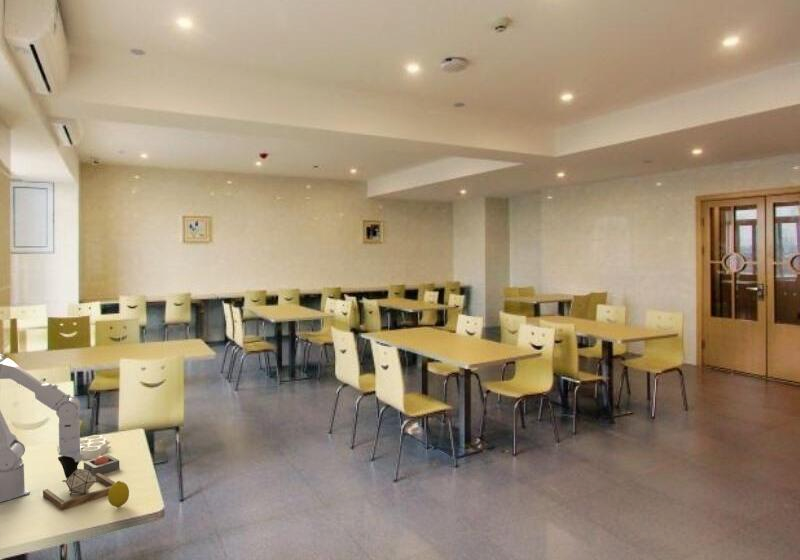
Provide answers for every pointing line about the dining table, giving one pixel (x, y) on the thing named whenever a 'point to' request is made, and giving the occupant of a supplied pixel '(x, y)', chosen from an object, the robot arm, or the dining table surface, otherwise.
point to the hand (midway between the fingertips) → (70, 477)
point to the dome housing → (102, 466)
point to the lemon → (118, 494)
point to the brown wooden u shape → (81, 499)
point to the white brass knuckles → (93, 446)
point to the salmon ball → (101, 460)
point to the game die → (80, 481)
